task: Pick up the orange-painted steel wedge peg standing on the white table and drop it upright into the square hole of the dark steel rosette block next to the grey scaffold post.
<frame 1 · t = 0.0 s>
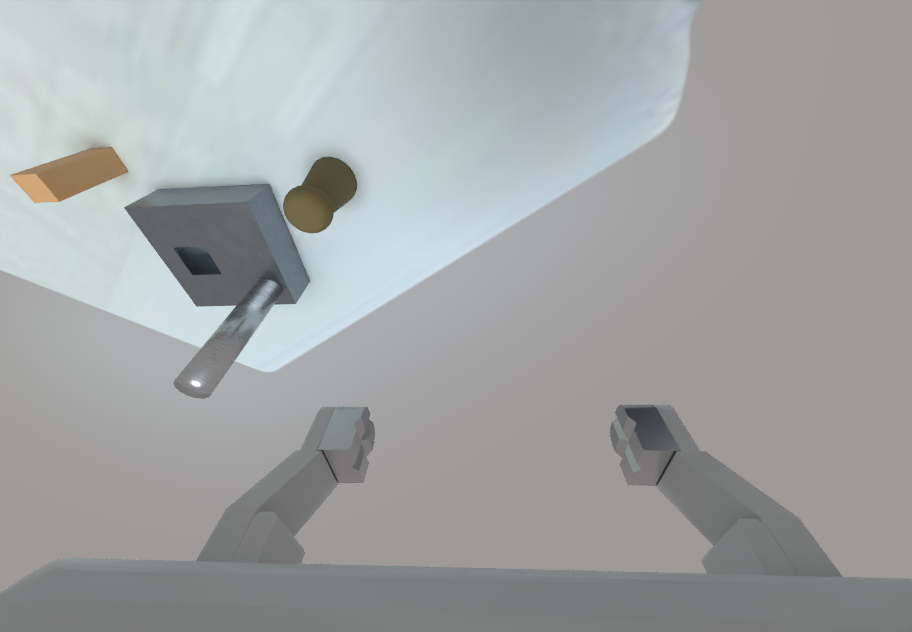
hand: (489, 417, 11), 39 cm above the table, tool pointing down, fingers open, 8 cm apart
cork: (334, 180, 45), on the table
wedge peg: (109, 160, 44), on the table
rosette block: (240, 239, 51), on the table
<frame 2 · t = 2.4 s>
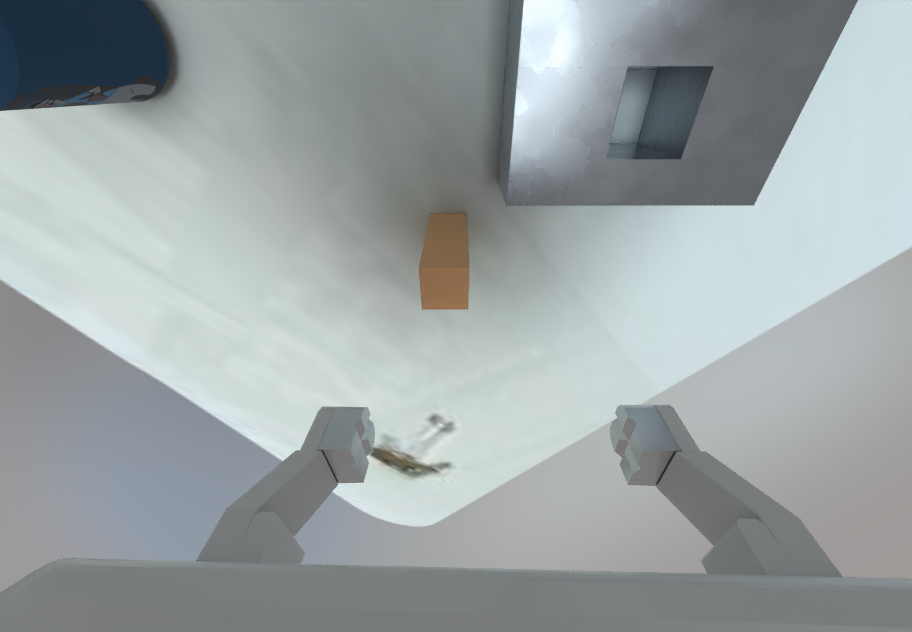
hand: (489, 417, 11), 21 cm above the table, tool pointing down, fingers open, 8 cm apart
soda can: (124, 37, 22), on the table
wedge peg: (448, 230, 29), on the table
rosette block: (628, 54, 22), on the table
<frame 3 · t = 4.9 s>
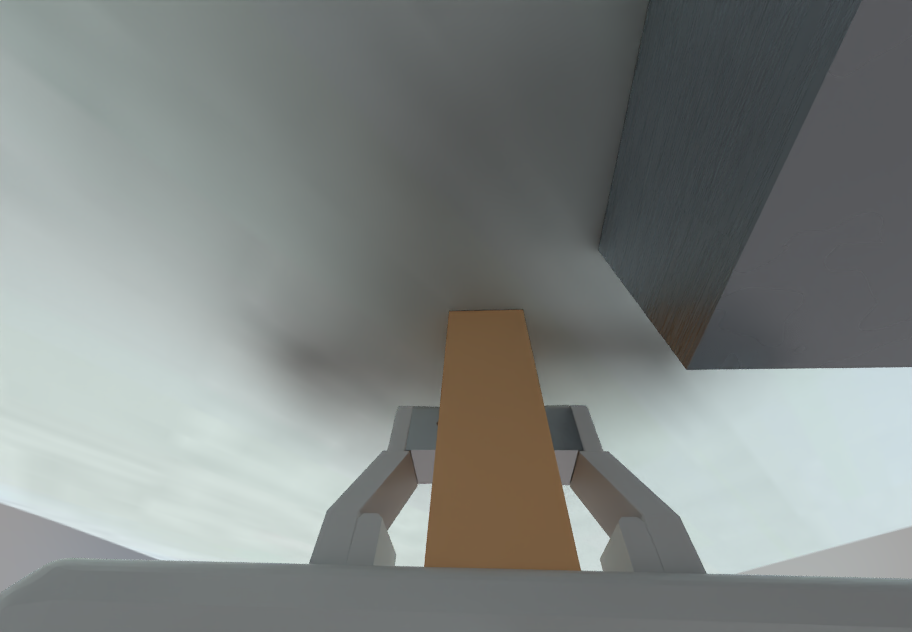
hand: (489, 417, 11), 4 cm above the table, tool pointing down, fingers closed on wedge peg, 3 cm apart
wedge peg: (485, 338, 14), on the table, touching gripper
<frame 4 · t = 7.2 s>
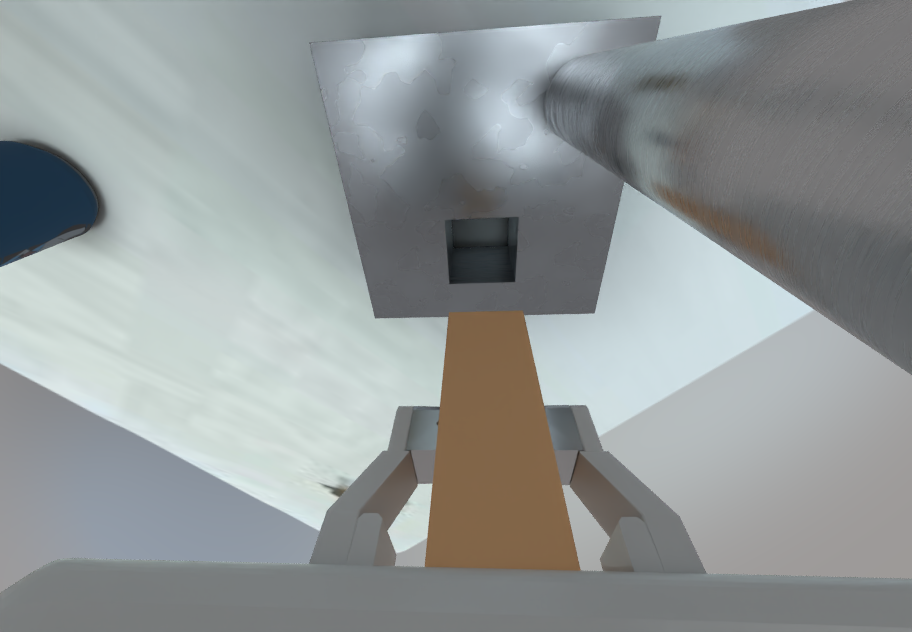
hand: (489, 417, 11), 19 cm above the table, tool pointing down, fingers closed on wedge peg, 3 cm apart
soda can: (60, 186, 26), on the table
wedge peg: (485, 339, 14), point 15 cm above the table, touching gripper
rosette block: (479, 180, 25), on the table
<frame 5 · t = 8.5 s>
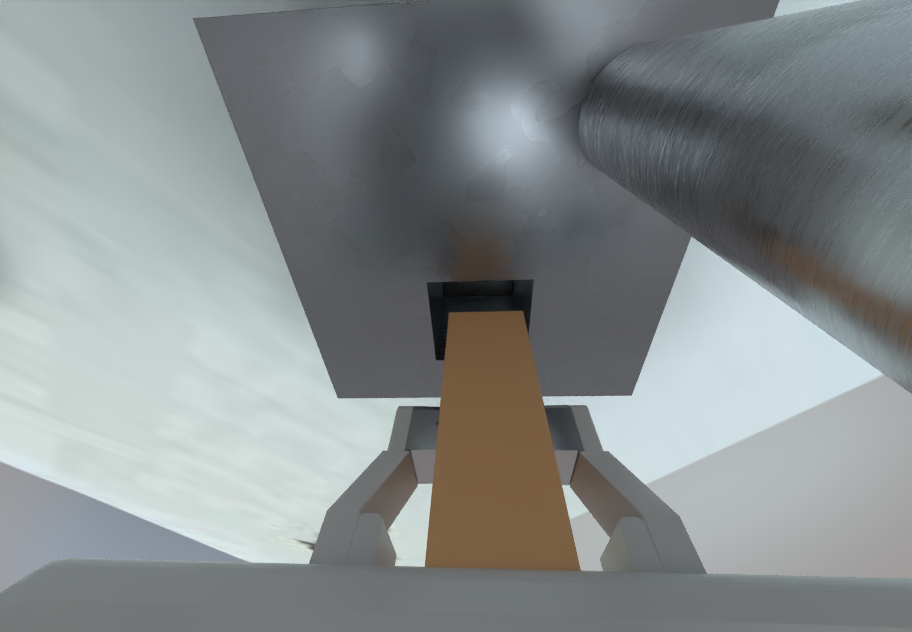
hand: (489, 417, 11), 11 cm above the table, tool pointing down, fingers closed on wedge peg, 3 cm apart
wedge peg: (485, 340, 14), point 7 cm above the table, touching gripper
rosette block: (476, 215, 19), on the table
when the fingers open (7 cm above the table, at t = 9.6 s): wedge peg drops 3 cm, resting in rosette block.
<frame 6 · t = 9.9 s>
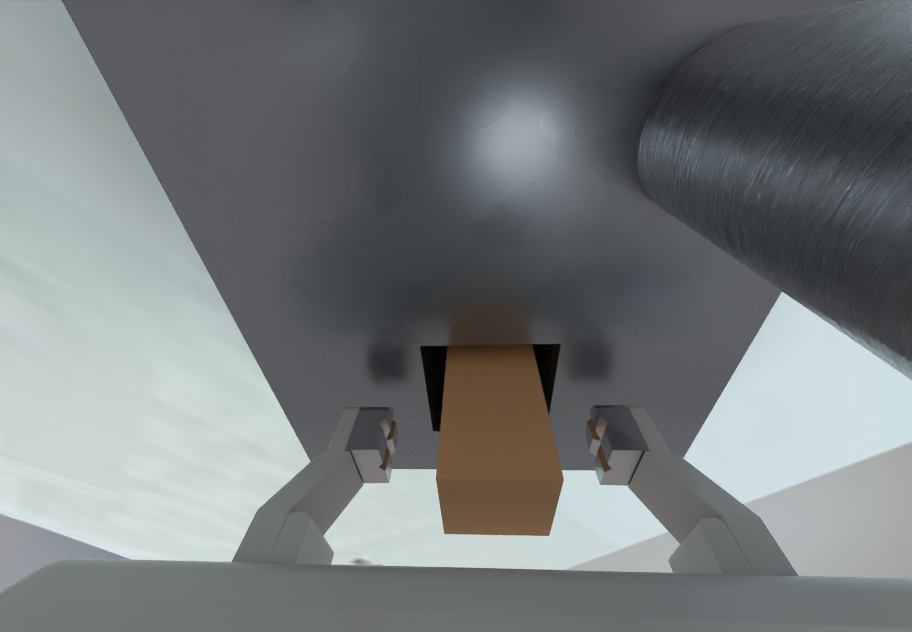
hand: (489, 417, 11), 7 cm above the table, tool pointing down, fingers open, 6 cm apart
wedge peg: (484, 302, 17), resting in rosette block
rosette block: (483, 246, 15), on the table
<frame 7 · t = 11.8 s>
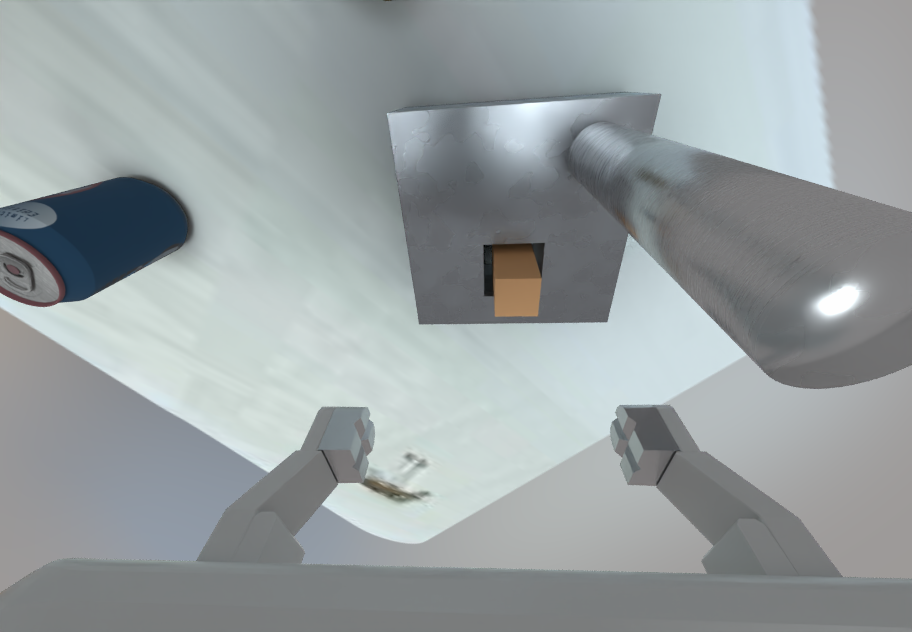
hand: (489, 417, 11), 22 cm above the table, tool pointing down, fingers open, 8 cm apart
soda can: (158, 212, 32), on the table
wedge peg: (508, 241, 31), resting in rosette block
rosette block: (508, 208, 29), on the table
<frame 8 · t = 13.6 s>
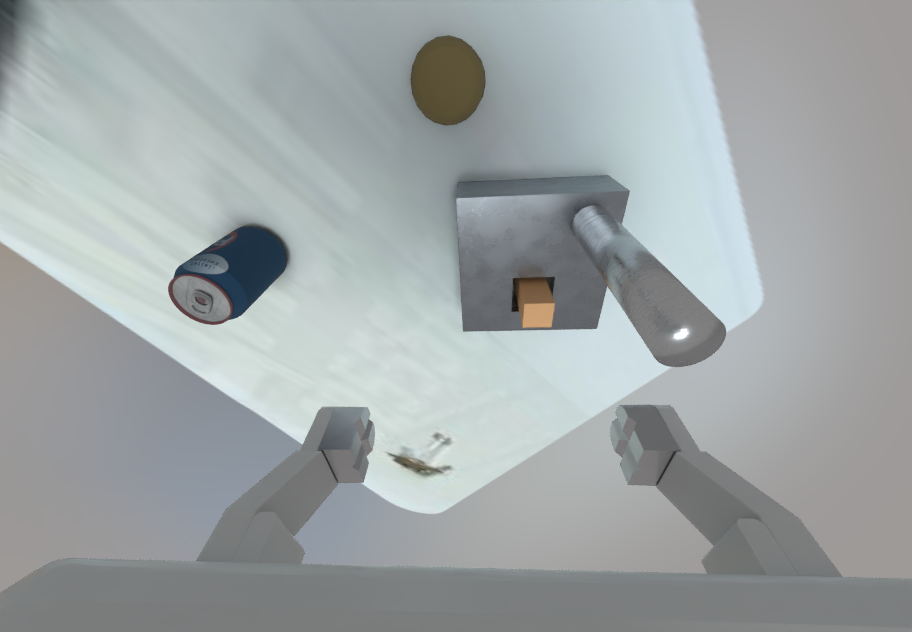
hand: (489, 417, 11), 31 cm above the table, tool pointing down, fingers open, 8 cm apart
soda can: (263, 249, 42), on the table
cork: (453, 82, 32), on the table
wedge peg: (525, 270, 42), resting in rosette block
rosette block: (526, 247, 41), on the table
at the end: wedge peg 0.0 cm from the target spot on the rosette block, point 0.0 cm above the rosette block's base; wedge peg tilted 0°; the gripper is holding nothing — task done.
